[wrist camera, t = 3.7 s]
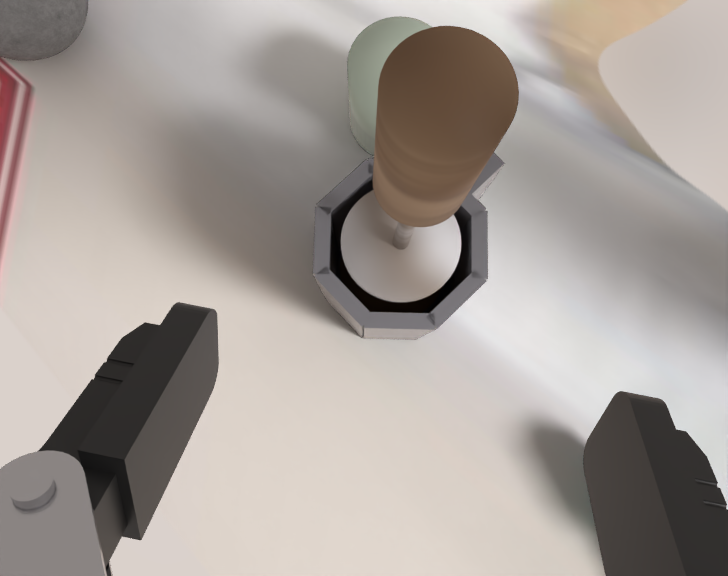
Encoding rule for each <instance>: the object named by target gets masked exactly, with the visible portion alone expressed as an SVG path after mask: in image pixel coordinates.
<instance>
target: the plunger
mask: <svg viewBox="0 0 728 576" xmlns="http://www.w3.org/2000/svg"><path fill="white" fill-rule="evenodd" d="M518 96H519V91H518V82H517V78H516V74H515V72H514V69H513V67H512V65H511V63H510V61H509V59H508V58H507V56H506V55H505V54H504V52H503V51H502V50H501V49H500V48H499V47H498V46H497V45H496V44H495V43H493V42H492V41H491V40H489V39H488V38H486V37H485V36H483V35H481V34H479V33H477V32H475V31H472V30H469V29H466V28H461V27H454V26H438V27H432V28H428V29H425V30H421V31H419V32H417V33H414V34H413V35H411V36H409V37H407V38H406V39H405V40H403V41H402V42H401V43H399V44H398V45H397V47H396V48H395V49H394V50H393V51H392V52H391V53H390V55H389V56H388V58H387V60H386V61H385V63H384V65H383V68H382V70H381V73H380V78H379V84H378V97H377V114H376V132H375V149H374V166H373V189H374V190H372V191H371V192H369V193H367V194H366V195H364V196H363V197H362V198H361V199H359V200H358V202H357V203H356V204H355V205H354V206H353V207H352V209H351V210H350V211H349V213H348V215H347V217H346V219H345V222H344V224H343V228H342V232H341V251H342V257H343V260H344V264H345V266H346V268H347V271H348V273H349V274H350V276H351V277H352V279H353V280H354V281H355V282H356V283H357V285H358V286H360V287H361V288H362V289H363V290H364V291H366V292H367V293H368V294H370V295H372V296H374V297H376V298H378V299H381V300H384V301H388V302H395V303H408V302H414V301H417V300H421V299H423V298H426V297H428V296H430V295H431V294H433V293H434V292H436V291H437V290H438V289H440V288H441V287H442V286H443V285H444V284H445V283H446V282H447V281H448V279H449V278H450V277H451V275H452V274H453V272H454V270H455V268H456V266H457V264H458V261H459V257H460V252H461V234H460V229H459V226H458V223H457V220H456V218H455V216H454V213H455V212H456V211H457V210H458V209H459V207H460V206H461V204H462V203H463V201H464V200H465V198H466V196H467V195H468V193H469V191H470V190H471V188H472V187H473V185H474V183H475V182H476V180H477V178H478V177H479V175H480V174H481V172H482V170H483V169H484V167H485V165H486V164H487V162H488V161H489V159H490V157H491V156H492V154H493V152H494V151H495V149H496V147H497V146H498V144H499V143H500V141H501V139H502V138H503V136H504V134H505V133H506V131H507V130H508V128H509V126H510V124H511V122H512V121H513V119H514V116H515V113H516V110H517V105H518Z"/></svg>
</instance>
